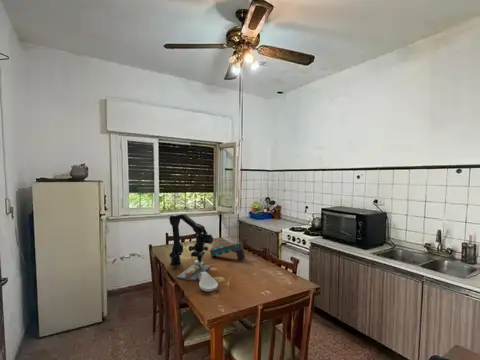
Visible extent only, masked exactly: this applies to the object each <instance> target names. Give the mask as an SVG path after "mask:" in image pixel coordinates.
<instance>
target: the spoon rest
mask: <svg viewBox="0 0 480 360" xmlns="http://www.w3.org/2000/svg"><path fill="white" fill-rule="evenodd" d="M197 280H199V283H198V284H199V285H198V286H199V288H200V289H201V290H202V291H203V292H207V293H208V292H213V291H215V290H216V289H217V288H218V285H219V283H218V281H217V280H215V278H213V277H212V276H211V275H210V274H209V273H208V272H207V271H206V272H201V273H200V274H199V278H198V279H197Z"/></svg>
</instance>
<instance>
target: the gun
mask: <svg viewBox="0 0 480 360" xmlns="http://www.w3.org/2000/svg"><path fill="white" fill-rule="evenodd" d="M231 252H234V254H236V257H237V261H241V260H244V259H245V258H246V255H245V252H244V246H243V243H242V241H239V242H234V243H231V244H222V245H219V246H215V247H211V249H210V250H209V253H210V257H212V258H213V257H216V256H221V255H224V254H229V253H231Z"/></svg>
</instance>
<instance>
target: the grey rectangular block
mask: <svg viewBox="0 0 480 360" xmlns="http://www.w3.org/2000/svg"><path fill="white" fill-rule="evenodd" d="M203 263H204V261H203V260H201V261H198V259H197V260H196V259H195V260H194V261H193V264H194V266H195V265H196V264H199V265H200V269H201V268H202V267H203Z"/></svg>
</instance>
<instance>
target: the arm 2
mask: <svg viewBox="0 0 480 360" xmlns="http://www.w3.org/2000/svg"><path fill="white" fill-rule="evenodd" d="M199 268H200V265H197V266H196V267H195V268H193V269H192V270H191V271H189V272H188V273H187V277H189V276H190V275H191V274H193V273H194V272H195V271H197V270H198V269H199Z"/></svg>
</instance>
